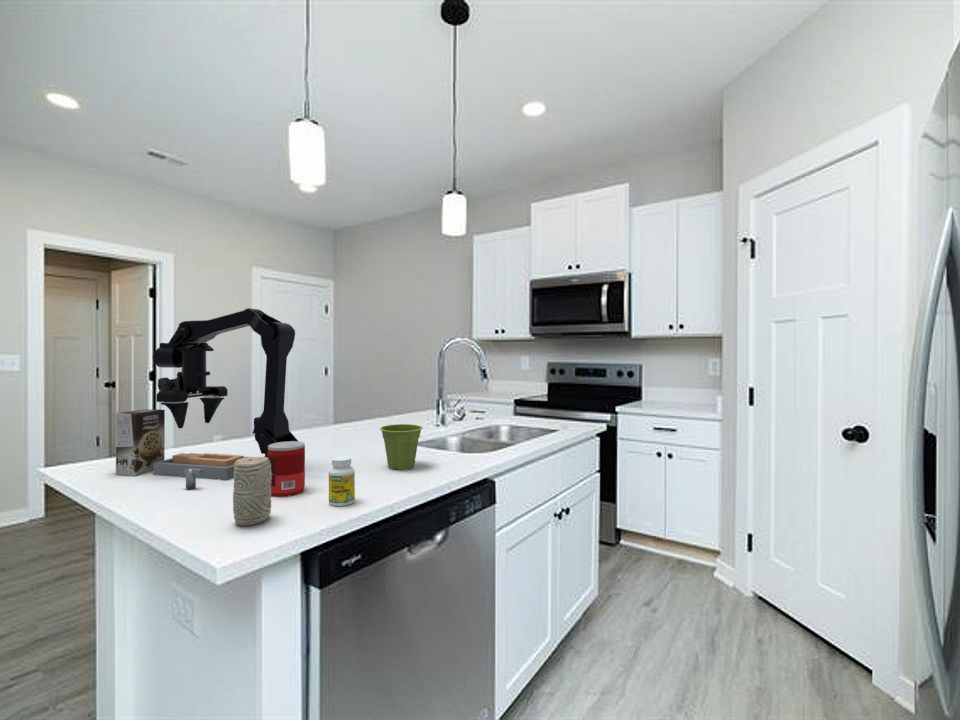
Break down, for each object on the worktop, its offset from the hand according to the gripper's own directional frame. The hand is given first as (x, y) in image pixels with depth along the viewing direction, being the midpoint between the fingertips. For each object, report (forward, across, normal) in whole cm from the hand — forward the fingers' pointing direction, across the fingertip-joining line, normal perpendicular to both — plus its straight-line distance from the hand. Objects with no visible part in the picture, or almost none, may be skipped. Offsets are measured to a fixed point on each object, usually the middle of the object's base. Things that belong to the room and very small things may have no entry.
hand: (194, 425), depth 128 cm
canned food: (+12, +13, +36) cm, 40 cm away
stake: (+12, +16, +13) cm, 24 cm away
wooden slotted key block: (+11, +1, +5) cm, 12 cm away
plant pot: (+12, -15, +54) cm, 57 cm away
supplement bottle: (+12, +17, +52) cm, 56 cm away
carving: (+12, +31, +41) cm, 53 cm away
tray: (+12, +2, +5) cm, 13 cm away
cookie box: (+12, +5, -12) cm, 18 cm away
